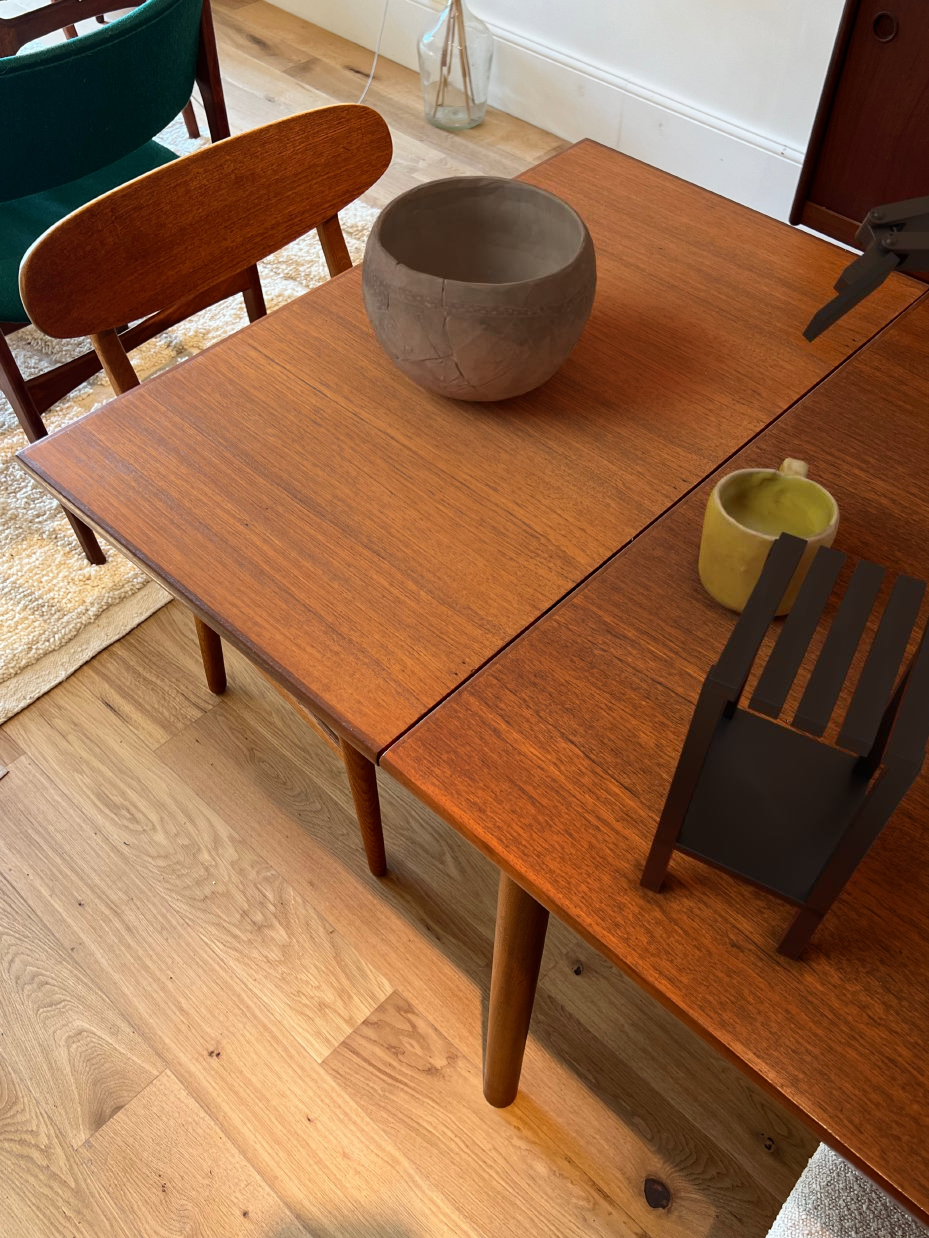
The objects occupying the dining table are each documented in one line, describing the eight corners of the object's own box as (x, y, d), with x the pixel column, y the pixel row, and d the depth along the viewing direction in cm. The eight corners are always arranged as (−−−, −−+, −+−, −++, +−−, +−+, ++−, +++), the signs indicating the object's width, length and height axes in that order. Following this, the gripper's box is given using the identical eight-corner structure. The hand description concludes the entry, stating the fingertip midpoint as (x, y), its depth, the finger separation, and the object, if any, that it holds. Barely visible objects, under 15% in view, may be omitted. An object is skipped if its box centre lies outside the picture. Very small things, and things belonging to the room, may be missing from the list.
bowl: (591, 442, 89) (612, 289, 77) (359, 437, 89) (346, 284, 78) (578, 313, 103) (594, 167, 91) (377, 308, 103) (368, 163, 91)
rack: (844, 817, 64) (974, 598, 48) (794, 963, 58) (925, 766, 42) (700, 754, 67) (778, 529, 51) (637, 886, 61) (704, 675, 45)
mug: (800, 647, 71) (808, 518, 66) (672, 614, 77) (672, 494, 72) (866, 579, 79) (878, 459, 74) (745, 553, 85) (749, 441, 80)
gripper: (1231, 373, 65) (1008, 572, 62) (955, 122, 70) (734, 297, 67) (1328, 313, 58) (1080, 536, 55) (1013, 36, 62) (767, 229, 59)
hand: (890, 406), depth 61 cm, fingers open, 13 cm apart
